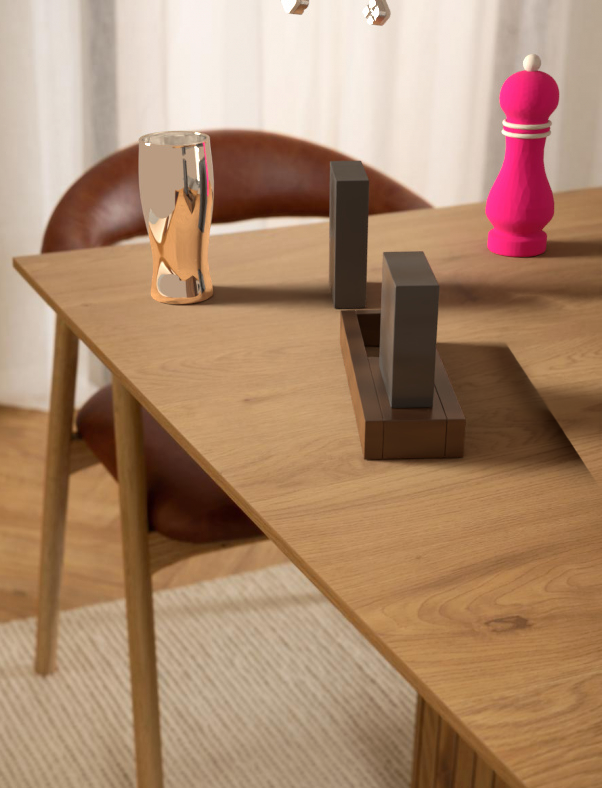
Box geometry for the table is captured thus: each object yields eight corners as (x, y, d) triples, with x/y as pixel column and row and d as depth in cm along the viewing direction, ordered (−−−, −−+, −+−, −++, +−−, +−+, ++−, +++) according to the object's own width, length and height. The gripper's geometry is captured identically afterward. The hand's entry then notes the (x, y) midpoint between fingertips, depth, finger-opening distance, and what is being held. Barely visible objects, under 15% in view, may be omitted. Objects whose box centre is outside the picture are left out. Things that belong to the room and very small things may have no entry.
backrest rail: (339, 342, 104) (341, 206, 98) (419, 341, 104) (426, 205, 98) (364, 459, 83) (368, 296, 78) (463, 457, 83) (474, 294, 78)
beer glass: (131, 295, 116) (120, 138, 109) (185, 278, 120) (177, 127, 113) (178, 311, 111) (170, 149, 104) (232, 293, 116) (227, 137, 109)
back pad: (328, 282, 119) (329, 160, 113) (358, 281, 119) (361, 160, 113) (334, 308, 112) (335, 180, 106) (366, 308, 112) (369, 180, 106)
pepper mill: (479, 239, 131) (492, 49, 122) (544, 239, 131) (562, 48, 122) (486, 258, 125) (501, 59, 116) (555, 259, 125) (575, 59, 115)
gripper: (211, -157, 100) (263, -26, 97) (391, -116, 112) (443, 2, 109) (178, -100, 105) (227, 28, 102) (354, -66, 117) (403, 49, 114)
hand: (340, 15), depth 105 cm, fingers open, 8 cm apart
